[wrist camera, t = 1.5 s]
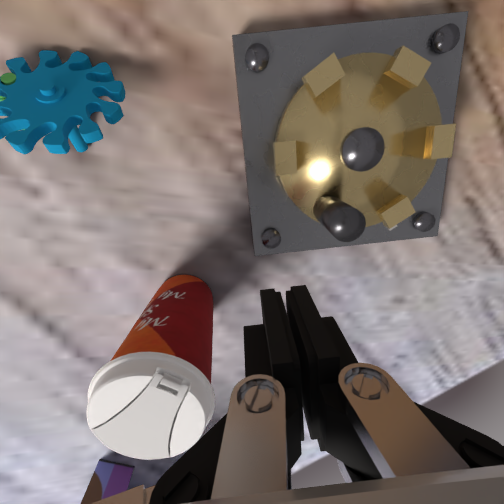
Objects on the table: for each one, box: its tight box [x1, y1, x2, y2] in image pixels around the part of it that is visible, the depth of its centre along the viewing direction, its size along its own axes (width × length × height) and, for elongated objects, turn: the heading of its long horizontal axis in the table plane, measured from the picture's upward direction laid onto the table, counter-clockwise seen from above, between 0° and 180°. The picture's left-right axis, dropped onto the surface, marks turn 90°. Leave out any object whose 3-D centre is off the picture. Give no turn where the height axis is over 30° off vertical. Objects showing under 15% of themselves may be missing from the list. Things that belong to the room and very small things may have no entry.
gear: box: [0, 50, 125, 154], centre depth 23 cm, size 11×6×10 cm
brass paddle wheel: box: [273, 45, 456, 242], centre depth 22 cm, size 13×13×7 cm
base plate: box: [232, 11, 468, 256], centre depth 26 cm, size 18×18×3 cm
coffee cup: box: [87, 275, 215, 460], centre depth 25 cm, size 8×8×15 cm
